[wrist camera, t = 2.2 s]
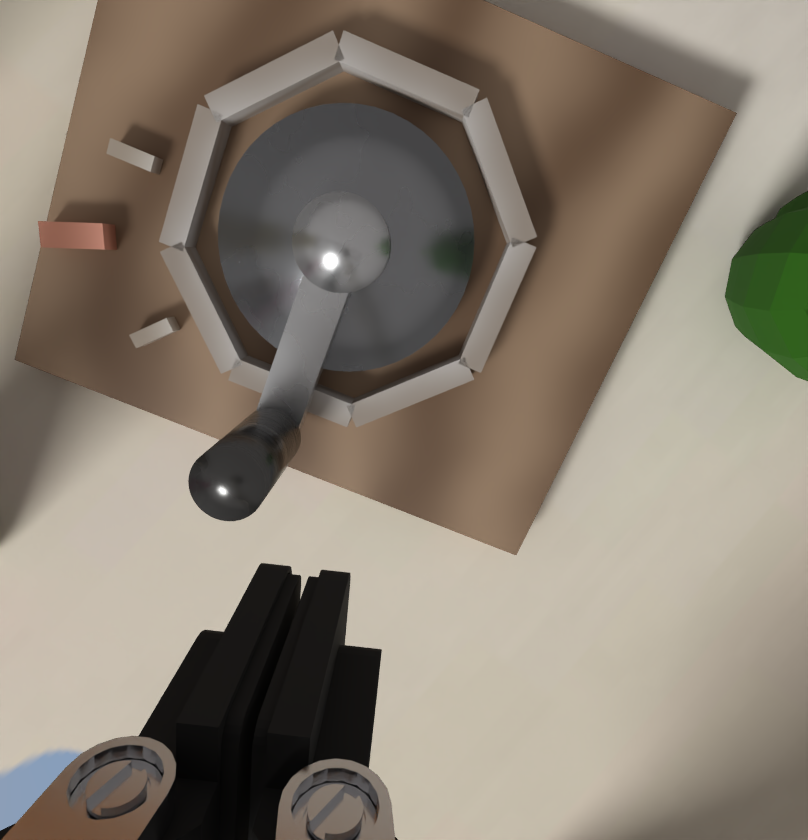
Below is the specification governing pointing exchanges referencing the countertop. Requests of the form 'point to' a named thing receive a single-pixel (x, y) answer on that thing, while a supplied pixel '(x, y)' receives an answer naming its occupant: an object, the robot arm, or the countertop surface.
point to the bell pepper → (775, 287)
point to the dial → (331, 271)
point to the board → (491, 211)
